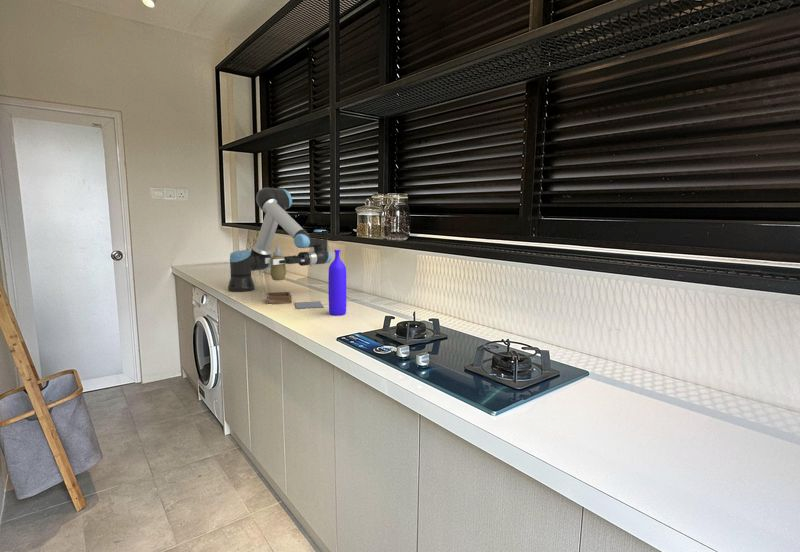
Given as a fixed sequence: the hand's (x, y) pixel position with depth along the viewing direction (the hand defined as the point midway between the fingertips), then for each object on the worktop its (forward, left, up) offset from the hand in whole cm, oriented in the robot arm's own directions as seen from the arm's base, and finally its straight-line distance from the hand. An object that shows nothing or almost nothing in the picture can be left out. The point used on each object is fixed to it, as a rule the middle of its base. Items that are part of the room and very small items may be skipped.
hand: (269, 261), depth 211 cm
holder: (-3, +4, -22) cm, 22 cm away
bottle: (+31, +29, -22) cm, 48 cm away
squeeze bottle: (-3, +4, -10) cm, 11 cm away
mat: (+10, +18, -22) cm, 30 cm away
